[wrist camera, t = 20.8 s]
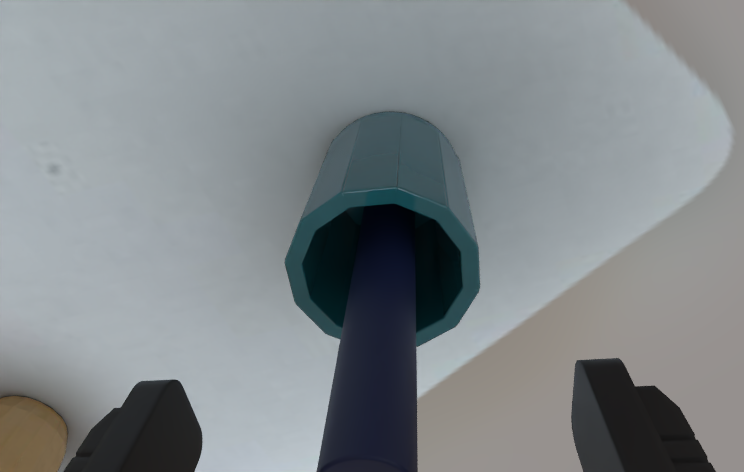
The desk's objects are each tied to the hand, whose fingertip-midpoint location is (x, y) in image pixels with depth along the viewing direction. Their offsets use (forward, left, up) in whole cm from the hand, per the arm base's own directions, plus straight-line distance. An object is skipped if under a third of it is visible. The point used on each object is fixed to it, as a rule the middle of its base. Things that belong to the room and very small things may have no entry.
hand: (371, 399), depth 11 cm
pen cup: (0, 0, -12) cm, 12 cm away
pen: (0, 0, -11) cm, 11 cm away
